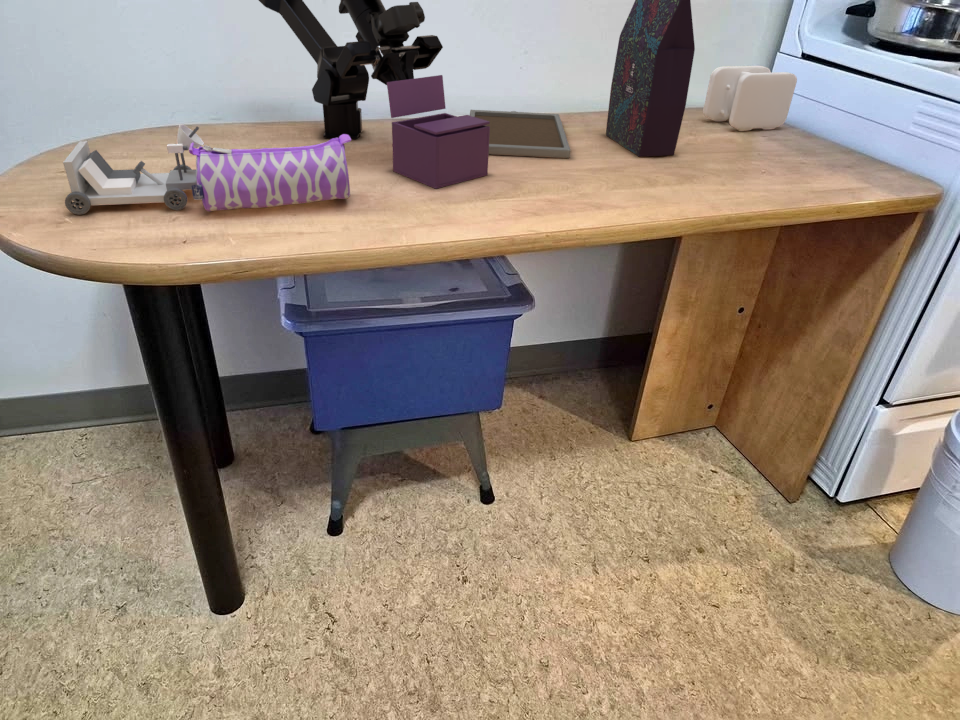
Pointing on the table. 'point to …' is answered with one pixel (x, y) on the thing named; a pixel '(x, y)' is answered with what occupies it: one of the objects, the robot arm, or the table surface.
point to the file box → (441, 149)
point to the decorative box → (651, 77)
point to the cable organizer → (749, 96)
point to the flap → (416, 96)
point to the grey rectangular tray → (525, 133)
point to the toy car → (128, 178)
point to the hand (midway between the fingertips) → (413, 100)
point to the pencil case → (270, 175)
